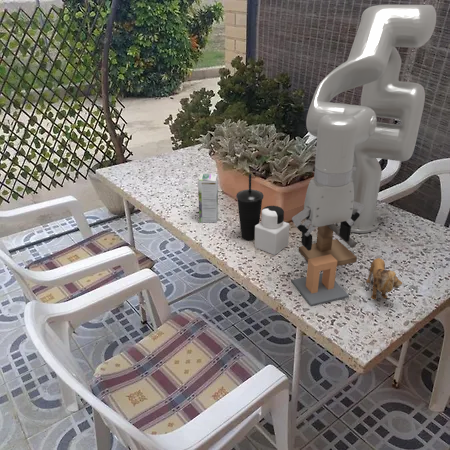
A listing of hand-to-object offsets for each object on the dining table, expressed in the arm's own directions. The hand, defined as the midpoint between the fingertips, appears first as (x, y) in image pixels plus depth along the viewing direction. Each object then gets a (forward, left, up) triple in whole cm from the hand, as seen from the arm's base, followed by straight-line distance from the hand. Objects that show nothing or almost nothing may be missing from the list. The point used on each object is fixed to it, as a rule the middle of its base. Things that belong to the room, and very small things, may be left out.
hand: (325, 242), depth 97 cm
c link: (+1, +1, -12) cm, 12 cm away
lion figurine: (-13, +6, -13) cm, 19 cm away
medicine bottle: (+4, -21, -13) cm, 25 cm away
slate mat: (+1, +1, -13) cm, 13 cm away
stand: (-8, -9, -13) cm, 18 cm away
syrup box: (+16, -43, -13) cm, 48 cm away
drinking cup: (+8, -28, -13) cm, 32 cm away
